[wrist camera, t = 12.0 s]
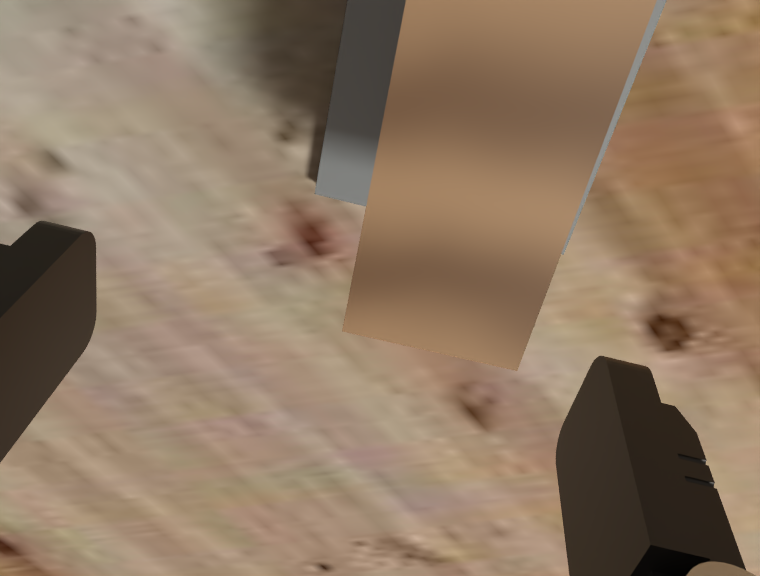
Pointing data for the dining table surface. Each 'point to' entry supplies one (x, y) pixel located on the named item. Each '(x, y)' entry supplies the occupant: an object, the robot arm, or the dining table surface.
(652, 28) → the peg stand
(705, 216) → the dining table surface
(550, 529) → the dining table surface
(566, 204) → the plank
